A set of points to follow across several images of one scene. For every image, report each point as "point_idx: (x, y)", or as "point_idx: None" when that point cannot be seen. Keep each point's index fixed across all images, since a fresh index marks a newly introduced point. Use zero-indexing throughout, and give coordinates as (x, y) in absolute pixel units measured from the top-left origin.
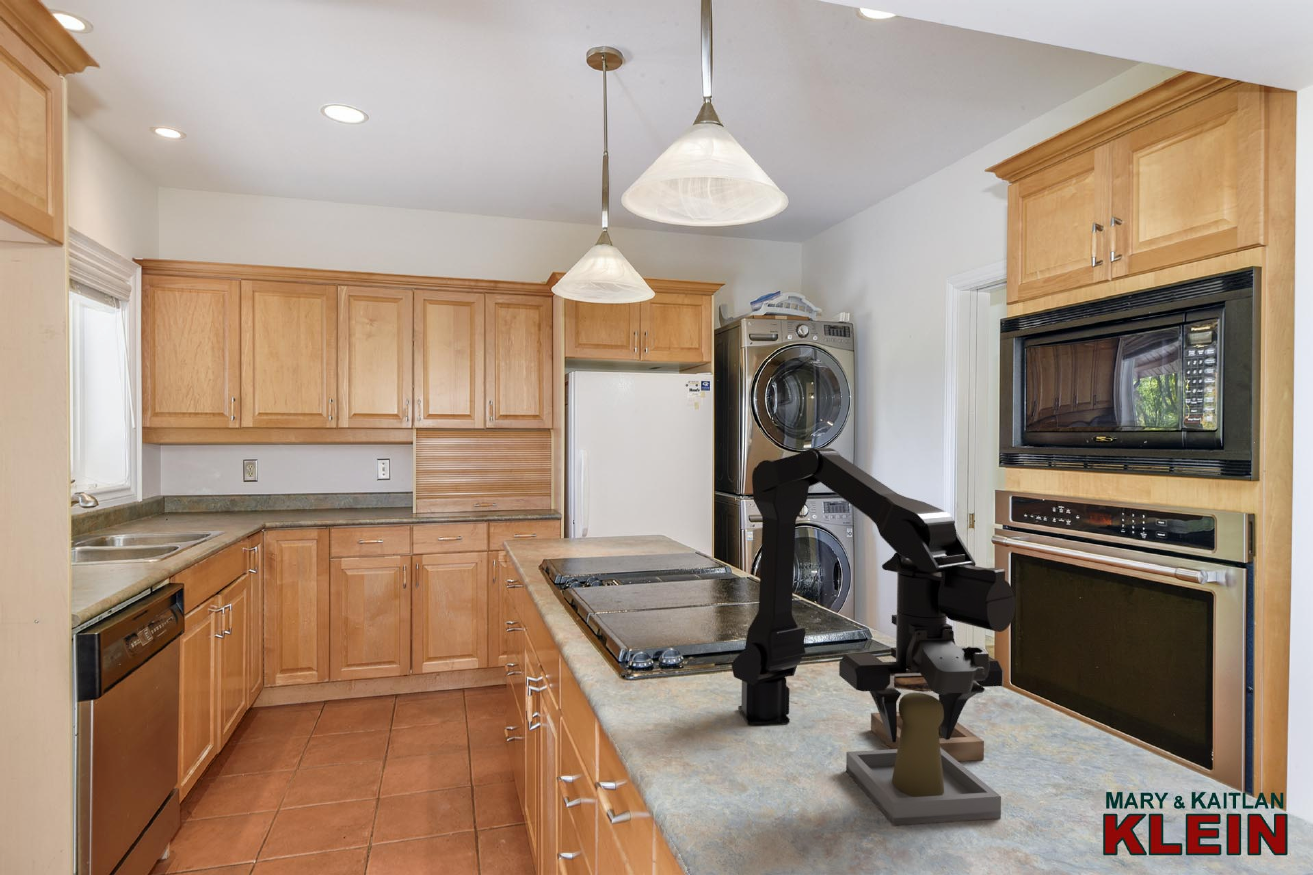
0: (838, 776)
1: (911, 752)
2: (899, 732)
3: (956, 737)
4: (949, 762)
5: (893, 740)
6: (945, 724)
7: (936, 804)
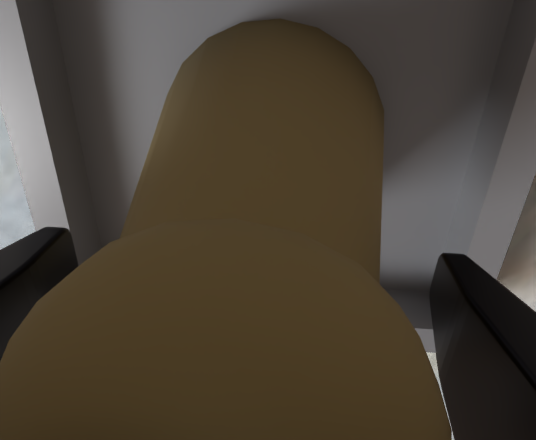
0: (506, 274)
1: (360, 168)
2: None
3: None
4: (71, 222)
5: (467, 257)
6: (26, 307)
7: None
